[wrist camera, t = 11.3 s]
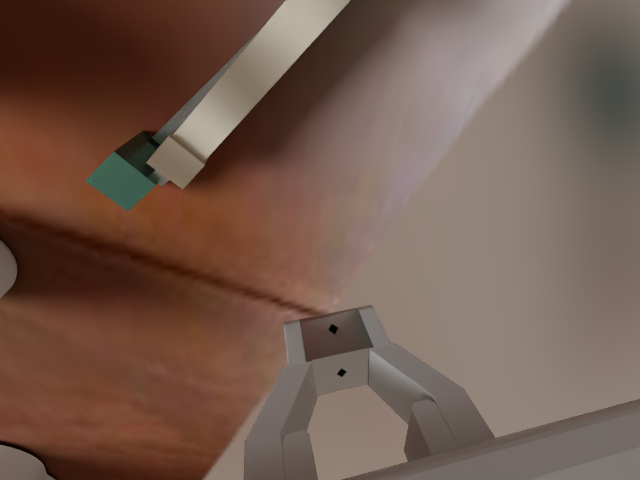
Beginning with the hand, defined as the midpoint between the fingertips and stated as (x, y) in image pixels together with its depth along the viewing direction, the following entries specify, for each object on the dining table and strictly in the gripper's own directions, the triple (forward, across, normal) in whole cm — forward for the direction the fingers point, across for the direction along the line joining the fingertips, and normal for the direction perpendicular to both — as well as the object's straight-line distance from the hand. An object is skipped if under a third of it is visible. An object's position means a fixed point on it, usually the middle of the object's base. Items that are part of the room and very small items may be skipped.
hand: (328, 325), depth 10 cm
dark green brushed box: (+14, +9, -3) cm, 17 cm away
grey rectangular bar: (+14, +1, -7) cm, 15 cm away
